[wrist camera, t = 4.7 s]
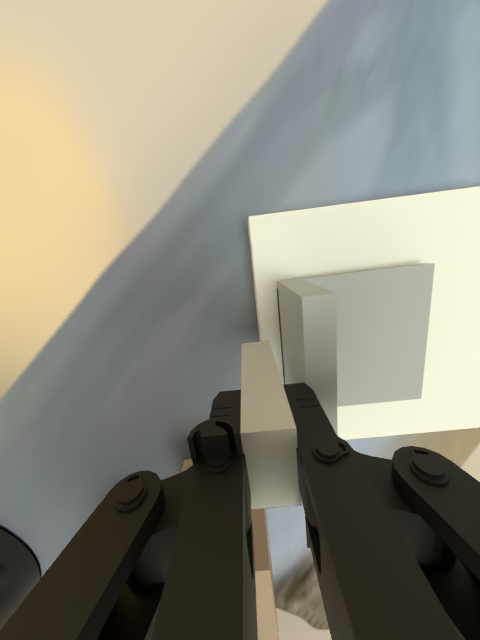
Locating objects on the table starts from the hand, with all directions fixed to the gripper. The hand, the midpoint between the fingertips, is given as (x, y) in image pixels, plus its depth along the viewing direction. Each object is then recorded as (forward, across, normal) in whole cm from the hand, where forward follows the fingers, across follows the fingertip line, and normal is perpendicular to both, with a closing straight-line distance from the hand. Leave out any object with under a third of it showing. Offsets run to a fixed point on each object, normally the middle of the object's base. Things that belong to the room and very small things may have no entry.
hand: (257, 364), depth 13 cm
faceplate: (+6, +8, 0) cm, 10 cm away
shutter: (+2, +6, 0) cm, 6 cm away
